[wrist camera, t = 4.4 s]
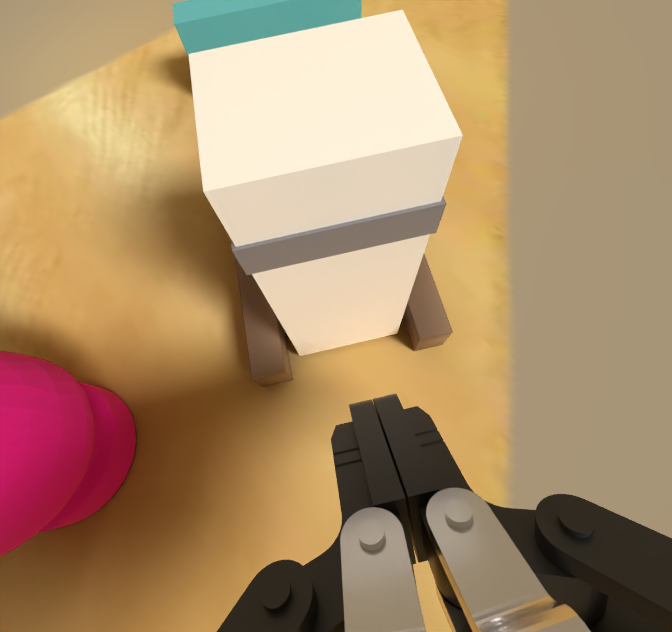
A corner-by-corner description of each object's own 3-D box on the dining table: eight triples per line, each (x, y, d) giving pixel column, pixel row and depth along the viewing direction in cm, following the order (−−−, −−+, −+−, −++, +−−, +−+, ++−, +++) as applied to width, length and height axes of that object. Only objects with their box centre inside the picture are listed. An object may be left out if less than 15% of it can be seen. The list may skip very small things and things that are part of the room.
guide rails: (263, 386, 18) (252, 378, 16) (218, 86, 26) (208, 58, 24) (442, 344, 18) (452, 331, 16) (343, 60, 26) (342, 30, 24)
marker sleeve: (298, 358, 18) (198, 197, 7) (284, 284, 19) (183, 52, 8) (399, 334, 18) (469, 138, 7) (377, 263, 19) (405, 6, 8)
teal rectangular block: (208, 103, 25) (174, 23, 20) (205, 84, 26) (172, 3, 21) (360, 71, 25) (361, -15, 21) (354, 53, 26) (353, -34, 21)
